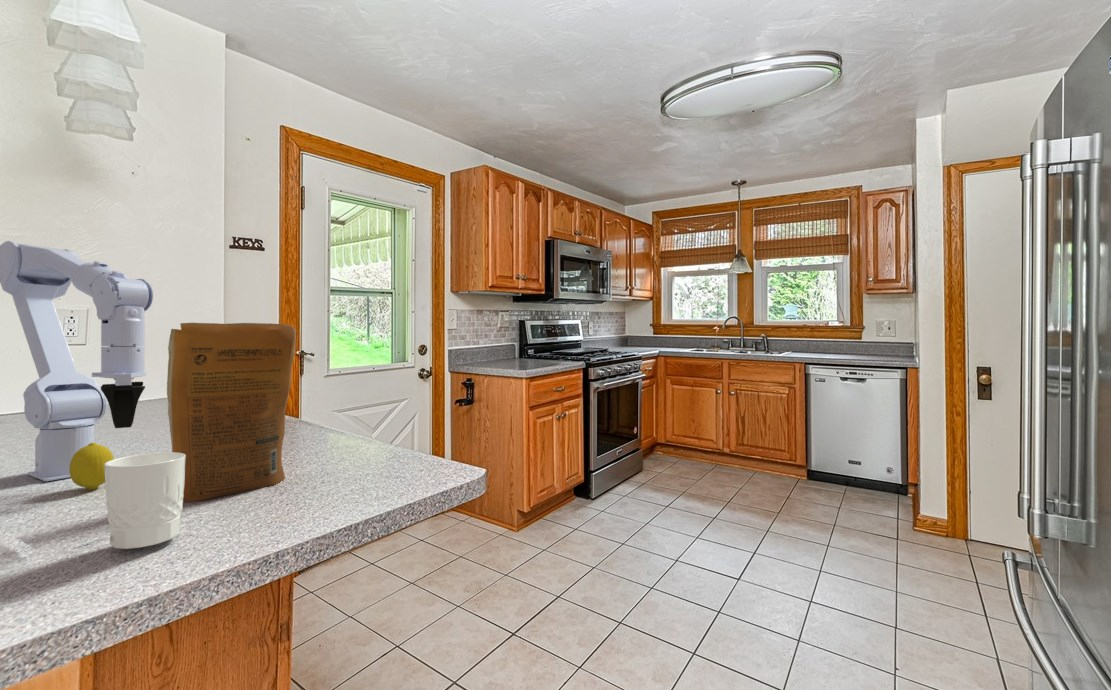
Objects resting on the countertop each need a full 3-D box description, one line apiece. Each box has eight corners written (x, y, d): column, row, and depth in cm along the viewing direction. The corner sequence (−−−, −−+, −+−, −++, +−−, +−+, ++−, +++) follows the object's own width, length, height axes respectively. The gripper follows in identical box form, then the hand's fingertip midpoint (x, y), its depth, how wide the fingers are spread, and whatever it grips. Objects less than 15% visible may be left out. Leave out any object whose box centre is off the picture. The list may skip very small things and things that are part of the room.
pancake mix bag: (304, 483, 88) (304, 324, 88) (169, 511, 73) (170, 319, 73) (287, 477, 92) (288, 325, 92) (158, 501, 77) (158, 321, 77)
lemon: (87, 496, 80) (87, 446, 80) (60, 494, 81) (60, 445, 81) (123, 486, 86) (123, 440, 86) (96, 485, 87) (96, 439, 87)
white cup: (136, 528, 66) (136, 452, 66) (199, 526, 67) (199, 451, 67) (85, 552, 58) (85, 467, 58) (157, 550, 59) (157, 465, 59)
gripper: (93, 346, 90) (93, 422, 90) (90, 346, 79) (89, 432, 79) (144, 346, 94) (144, 418, 94) (147, 346, 83) (147, 428, 83)
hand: (123, 424), depth 87 cm, fingers open, 7 cm apart
